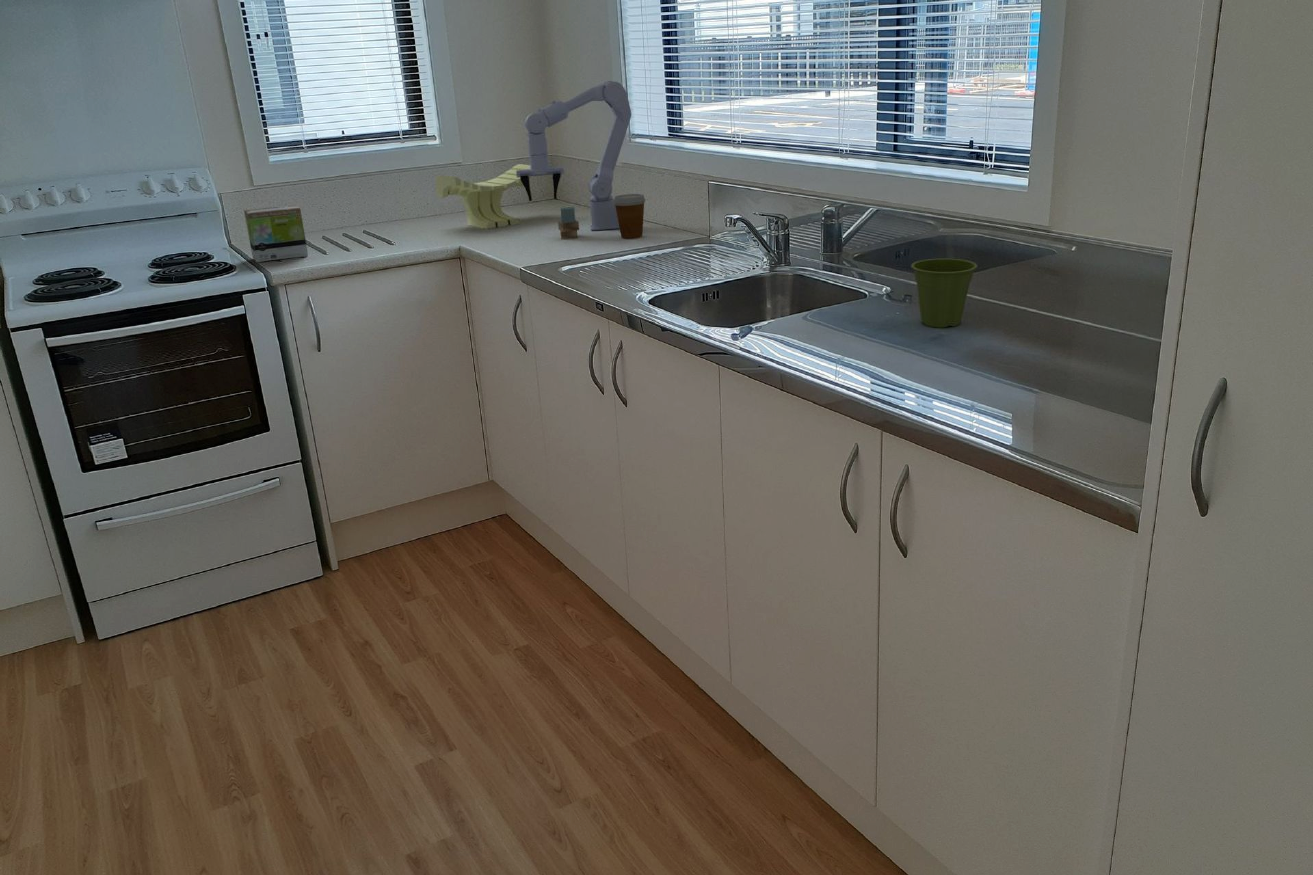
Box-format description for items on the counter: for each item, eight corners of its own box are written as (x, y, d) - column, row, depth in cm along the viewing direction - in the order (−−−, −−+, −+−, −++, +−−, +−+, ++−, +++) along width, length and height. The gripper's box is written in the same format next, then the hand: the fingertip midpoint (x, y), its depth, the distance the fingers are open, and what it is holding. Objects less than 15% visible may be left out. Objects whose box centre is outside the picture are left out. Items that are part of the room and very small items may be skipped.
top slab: (574, 227, 311) (573, 219, 310) (579, 229, 306) (578, 221, 306) (558, 229, 309) (557, 221, 308) (563, 231, 305) (562, 223, 304)
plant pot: (911, 332, 188) (913, 272, 184) (907, 316, 199) (909, 259, 195) (977, 331, 186) (981, 270, 182) (970, 315, 197) (973, 257, 193)
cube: (574, 220, 309) (573, 206, 307) (575, 222, 305) (574, 208, 304) (561, 221, 308) (560, 207, 307) (562, 223, 305) (560, 209, 303)
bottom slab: (577, 236, 311) (576, 228, 310) (577, 238, 306) (577, 230, 306) (561, 237, 311) (560, 229, 310) (561, 240, 306) (560, 231, 305)
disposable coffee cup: (610, 240, 300) (607, 198, 295) (623, 234, 308) (620, 193, 303) (640, 240, 296) (637, 198, 292) (652, 234, 304) (650, 193, 300)
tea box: (257, 263, 299) (246, 213, 294) (252, 258, 308) (242, 209, 302) (309, 256, 305) (300, 206, 300) (303, 251, 314) (294, 203, 308)
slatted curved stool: (520, 215, 357) (514, 163, 350) (542, 219, 344) (537, 166, 338) (441, 228, 341) (434, 174, 335) (462, 233, 329) (454, 176, 322)
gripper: (513, 157, 305) (518, 203, 310) (562, 154, 306) (566, 199, 310) (515, 155, 311) (520, 200, 316) (562, 151, 312) (566, 196, 317)
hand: (543, 199), depth 314 cm, fingers open, 7 cm apart
